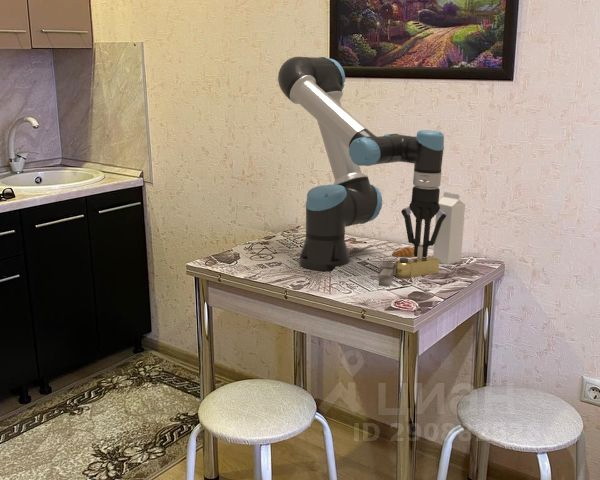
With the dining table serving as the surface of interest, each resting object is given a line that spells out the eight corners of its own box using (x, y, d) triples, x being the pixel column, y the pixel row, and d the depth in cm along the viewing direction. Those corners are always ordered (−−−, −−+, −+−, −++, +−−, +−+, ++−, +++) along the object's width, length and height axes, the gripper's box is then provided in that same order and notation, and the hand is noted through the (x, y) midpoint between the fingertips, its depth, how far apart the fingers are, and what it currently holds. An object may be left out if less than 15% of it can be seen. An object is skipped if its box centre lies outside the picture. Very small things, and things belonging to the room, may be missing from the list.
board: (365, 289, 177) (366, 267, 175) (382, 266, 199) (383, 246, 197) (430, 297, 172) (431, 274, 170) (439, 272, 194) (441, 251, 192)
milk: (447, 268, 198) (452, 195, 192) (432, 263, 202) (436, 192, 197) (460, 265, 201) (466, 193, 196) (445, 260, 206) (450, 190, 201)
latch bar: (400, 279, 182) (401, 265, 181) (392, 274, 186) (392, 261, 185) (439, 273, 188) (440, 260, 187) (430, 269, 192) (431, 256, 191)
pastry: (397, 263, 203) (398, 251, 202) (387, 257, 209) (387, 246, 208) (424, 260, 206) (424, 248, 205) (412, 255, 212) (413, 243, 211)
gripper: (400, 186, 184) (394, 267, 190) (447, 191, 179) (439, 274, 185) (406, 182, 190) (400, 261, 196) (451, 187, 186) (444, 267, 192)
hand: (419, 267), depth 191 cm, fingers closed
